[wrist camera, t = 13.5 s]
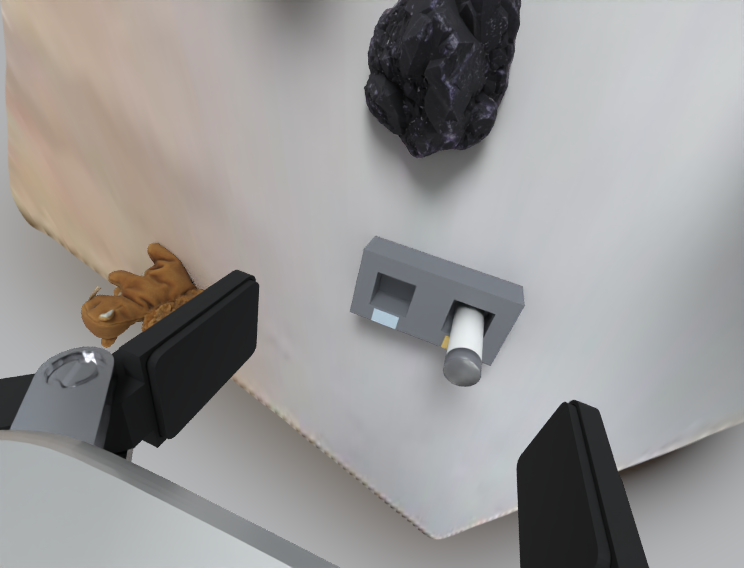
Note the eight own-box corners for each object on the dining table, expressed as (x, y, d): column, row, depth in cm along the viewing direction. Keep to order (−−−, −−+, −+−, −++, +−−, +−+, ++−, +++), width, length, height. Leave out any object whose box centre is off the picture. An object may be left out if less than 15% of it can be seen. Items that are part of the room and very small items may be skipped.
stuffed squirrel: (152, 236, 52) (58, 276, 41) (230, 293, 52) (157, 347, 41) (142, 281, 57) (58, 326, 46) (213, 332, 58) (145, 388, 47)
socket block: (522, 286, 37) (524, 306, 34) (491, 344, 42) (490, 367, 38) (375, 235, 40) (363, 249, 37) (361, 295, 45) (349, 312, 41)
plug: (489, 300, 39) (486, 367, 30) (478, 322, 41) (473, 391, 31) (461, 290, 39) (450, 353, 30) (451, 312, 41) (438, 378, 32)
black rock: (396, 169, 37) (378, 199, 28) (341, 23, 31) (298, 8, 23) (531, 116, 32) (557, 134, 23) (495, -69, 26) (513, -132, 18)
